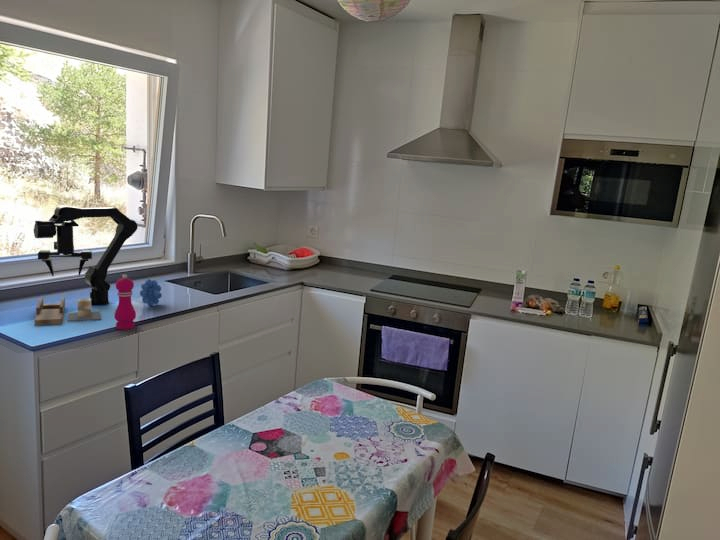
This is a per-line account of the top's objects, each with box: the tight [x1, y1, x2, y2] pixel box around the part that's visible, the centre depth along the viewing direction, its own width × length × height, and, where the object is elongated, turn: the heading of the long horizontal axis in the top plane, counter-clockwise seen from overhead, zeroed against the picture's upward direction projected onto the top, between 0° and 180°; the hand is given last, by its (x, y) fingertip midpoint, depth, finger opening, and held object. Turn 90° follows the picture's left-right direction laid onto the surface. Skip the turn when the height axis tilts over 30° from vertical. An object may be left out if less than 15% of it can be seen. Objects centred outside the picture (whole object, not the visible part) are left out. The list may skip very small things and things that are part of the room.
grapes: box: [139, 279, 163, 307], centre depth 219 cm, size 12×7×12 cm, turn 158°
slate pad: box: [67, 310, 102, 323], centre depth 199 cm, size 11×11×1 cm
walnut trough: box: [33, 296, 66, 326], centre depth 197 cm, size 8×24×4 cm, turn 27°
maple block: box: [77, 297, 92, 317], centre depth 199 cm, size 4×4×6 cm
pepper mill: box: [113, 273, 137, 330], centre depth 188 cm, size 7×7×20 cm
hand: (66, 275), depth 208 cm, fingers open, 9 cm apart
